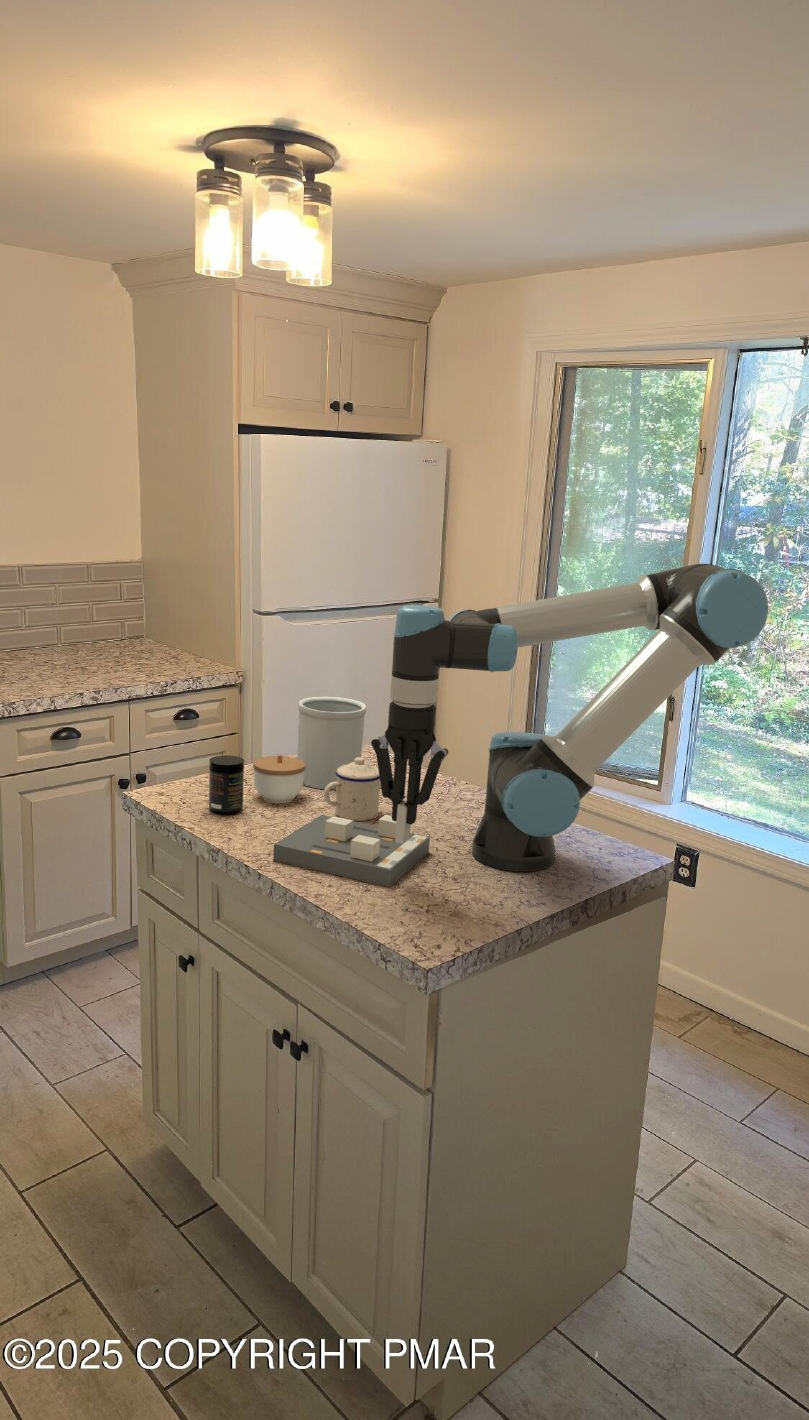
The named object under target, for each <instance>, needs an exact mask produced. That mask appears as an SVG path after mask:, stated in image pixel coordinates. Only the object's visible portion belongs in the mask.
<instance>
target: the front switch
mask: <svg viewBox="0 0 809 1420" xmlns="http://www.w3.org/2000/svg"><path fill="white" fill-rule="evenodd" d="M379 852H380V839H376V838H371V837H367V836H362V835H358V836H357V837H355V838H354V839H352V840H351V856H350V857H353V858H357V859H362V860H366V861H371V862H372V861H373V860H375V859H376V858H377V857H379Z"/></svg>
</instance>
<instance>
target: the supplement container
mask: <svg viewBox="0 0 809 1420" xmlns="http://www.w3.org/2000/svg"><path fill="white" fill-rule="evenodd" d="M208 763H209V764H208V770H209V771H208V775H209V776H208V778H209V779H208V781H209V782H208V809H209V811H210V813H212V814H214V815H219V816H233V815H237V814H240V813H241V812H242V810H243V808H244V778H245V775H244V774H245V771H244V770H245V759H244V758H243V757H240V756H236V755H230V754H227V755H224V754H223V755H216V756H212V757H210V758H209V762H208Z"/></svg>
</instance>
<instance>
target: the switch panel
mask: <svg viewBox="0 0 809 1420" xmlns="http://www.w3.org/2000/svg"><path fill="white" fill-rule="evenodd" d="M331 817H332V816H331V815H324V814H321V815H319V816H318V817H316V818H314V819H313V820H311V821H310V822H308V823H306V824H305V825H303V826H301V827H300V828H298V829H296V830H294V831H293V832H292V833H290V834H288V835H286V836H285V837H283V838H282V839H280V840H279V841H277V842H275V843H274V844H273V854H272V856H273V858H272V859H273V860H272V861H274V862H278V861H280V862H279V863H282V862H283V864H286V863H287V864H286V865H291V864H292V865H291V866H296V867H299V866H301V867H300V868H304V869H309V870H312V869H313V871H317V872H322V873H326V874H332V875H336V876H338V877H345V878H348V879H353V880H357V881H361V882H366V883H371V884H374V885H377V886H382V887H388V888H390V887H391V886H392V885H393V884H395V882H397V881H398V880H399V879H400V878H401V877H402V876H403V875H405V874H406V873H407V872H408V871H409V870H410V869H411V868H413V867H414V866H416V865H417V863H419V861H421V860H422V859H423V858H424V857H425V856H426V855H427V854H429V852H430V840H431V839H430V838H431V836H427V835H423V834H417V833H413V832H410V838H409V840H408V841H406V842H405V843H404V844H401V843H396V842H395V839H394V838H389V837H384V836H380V835H378V827H379V825H373V824H369V823H365V822H364V823H363V822H361V821H353V833H352V837H351V838H349V839H348V840H346V841H340V840H336V839H331V838H326V837H325V821H327V820H328V819H330V818H331ZM358 835H362V836H367V837H371V838H376V839H380V852H379V857H377V858H376V859H375V860H373V861H372V862H371V861H366V860H362V859H357V858H353V857H350V856H351V840H352V839H354V838H355V837H357V836H358Z"/></svg>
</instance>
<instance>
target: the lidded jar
mask: <svg viewBox="0 0 809 1420" xmlns="http://www.w3.org/2000/svg"><path fill="white" fill-rule="evenodd" d="M252 765H253V766H252V768H253V782H254V787H255V789H256V791H257V793H258V794H259V795H260V796H261V798H263V800H264V802H267V803H271V804H277V805H278V804H289V803H291V802H292V801H294V799H295V798H296V797H297V796H298V795H299V794H300V792H301V791H302V789H303V786H304V785H303V783H304V778H305V769H306V763H305V762H304V761H302V760H300V759H297V757H295V756H294V757H293V756H287V755H286V756H285V755H282V754H277V755H274V756H273V755H272V756H271V755H270V756H269V755H268V756H263V757H260V758H257V759H255V760H254V761H253V764H252Z"/></svg>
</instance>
